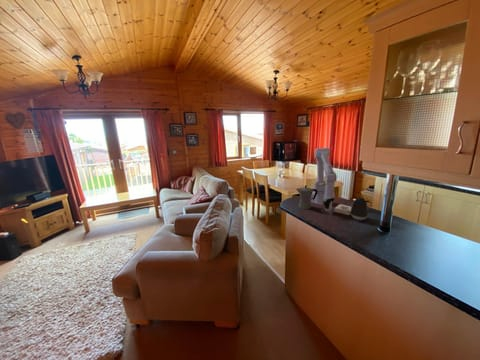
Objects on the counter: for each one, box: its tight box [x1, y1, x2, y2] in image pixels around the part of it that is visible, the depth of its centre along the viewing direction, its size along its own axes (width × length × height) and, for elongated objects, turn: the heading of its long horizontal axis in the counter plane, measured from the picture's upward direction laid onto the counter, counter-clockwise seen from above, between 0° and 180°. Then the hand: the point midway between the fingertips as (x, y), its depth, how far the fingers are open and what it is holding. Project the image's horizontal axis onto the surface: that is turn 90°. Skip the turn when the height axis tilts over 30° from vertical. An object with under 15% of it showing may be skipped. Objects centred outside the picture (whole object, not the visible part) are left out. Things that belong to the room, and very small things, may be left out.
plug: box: [325, 201, 333, 211], centre depth 145 cm, size 4×4×8 cm
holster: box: [320, 206, 336, 216], centre depth 146 cm, size 8×6×2 cm
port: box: [334, 203, 352, 216], centre depth 146 cm, size 10×10×3 cm
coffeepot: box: [295, 185, 318, 210], centre depth 154 cm, size 15×9×18 cm, turn 70°
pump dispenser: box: [350, 196, 370, 221], centre depth 133 cm, size 10×10×15 cm
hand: (328, 207), depth 145 cm, fingers closed on plug, 3 cm apart
